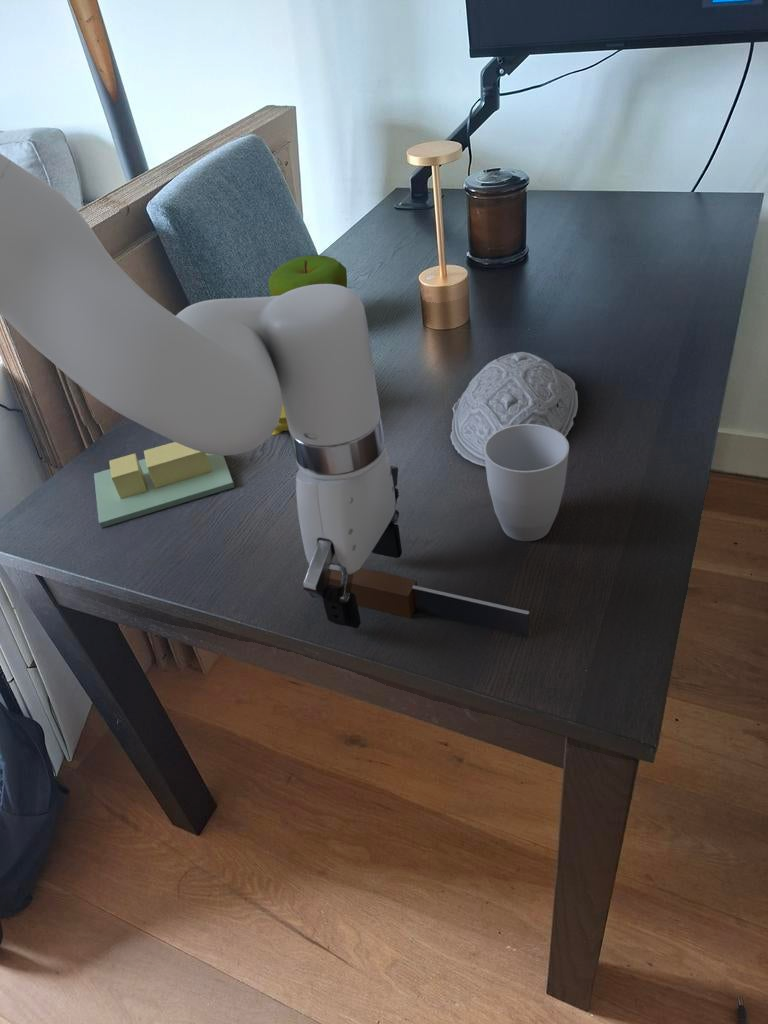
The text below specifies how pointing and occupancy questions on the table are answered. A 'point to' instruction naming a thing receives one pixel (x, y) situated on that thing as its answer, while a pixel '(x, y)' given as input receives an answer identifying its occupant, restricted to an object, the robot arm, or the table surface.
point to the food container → (512, 402)
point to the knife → (430, 602)
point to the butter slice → (127, 476)
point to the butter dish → (157, 492)
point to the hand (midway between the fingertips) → (366, 586)
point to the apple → (307, 274)
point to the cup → (526, 478)
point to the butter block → (175, 463)
